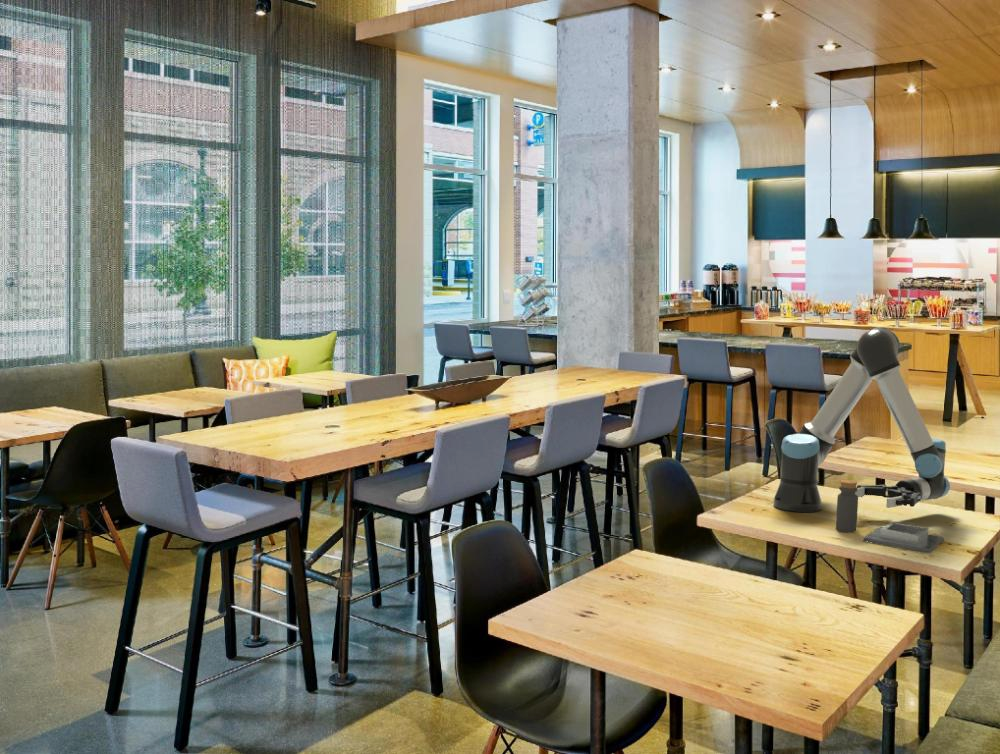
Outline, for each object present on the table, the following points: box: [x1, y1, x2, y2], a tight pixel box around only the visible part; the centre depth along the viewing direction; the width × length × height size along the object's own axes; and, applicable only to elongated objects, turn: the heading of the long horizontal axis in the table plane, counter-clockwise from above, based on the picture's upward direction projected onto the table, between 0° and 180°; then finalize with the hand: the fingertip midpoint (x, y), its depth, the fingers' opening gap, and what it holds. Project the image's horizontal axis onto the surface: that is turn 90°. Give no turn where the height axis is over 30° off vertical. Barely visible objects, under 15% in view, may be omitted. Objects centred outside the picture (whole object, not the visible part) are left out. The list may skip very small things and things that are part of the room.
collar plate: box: [862, 521, 945, 554], centre depth 284 cm, size 18×16×4 cm
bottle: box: [835, 479, 859, 533], centre depth 295 cm, size 6×6×15 cm
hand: (868, 498), depth 300 cm, fingers open, 13 cm apart
